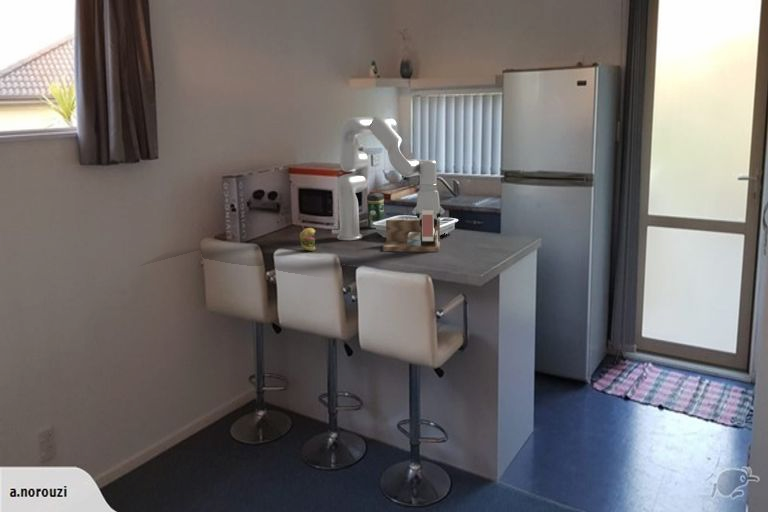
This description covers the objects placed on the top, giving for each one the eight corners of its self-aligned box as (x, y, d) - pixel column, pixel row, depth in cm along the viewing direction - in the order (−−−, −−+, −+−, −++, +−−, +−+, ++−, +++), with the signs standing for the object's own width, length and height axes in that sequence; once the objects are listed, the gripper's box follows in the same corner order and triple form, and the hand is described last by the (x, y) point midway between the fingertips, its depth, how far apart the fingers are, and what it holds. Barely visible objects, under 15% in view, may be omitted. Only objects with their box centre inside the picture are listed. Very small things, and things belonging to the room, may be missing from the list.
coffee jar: (373, 225, 354) (372, 191, 350) (386, 226, 351) (386, 192, 346) (365, 228, 346) (364, 194, 342) (378, 229, 342) (377, 194, 338)
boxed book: (422, 241, 292) (421, 210, 288) (423, 236, 300) (423, 207, 297) (433, 241, 291) (433, 210, 288) (434, 236, 300) (434, 207, 296)
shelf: (383, 251, 294) (382, 225, 291) (386, 244, 306) (386, 219, 304) (438, 251, 290) (438, 225, 288) (439, 245, 303) (439, 220, 300)
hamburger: (316, 252, 294) (314, 226, 292) (300, 253, 294) (298, 227, 291) (316, 248, 302) (315, 223, 299) (300, 249, 301) (299, 223, 298)
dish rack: (399, 227, 348) (399, 212, 346) (462, 233, 330) (462, 217, 328) (367, 238, 322) (367, 222, 320) (434, 245, 303) (434, 229, 301)
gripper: (408, 189, 288) (408, 229, 292) (446, 188, 285) (446, 229, 290) (410, 186, 295) (410, 226, 299) (447, 186, 293) (447, 226, 297)
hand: (428, 227), depth 294 cm, fingers closed on boxed book, 5 cm apart
